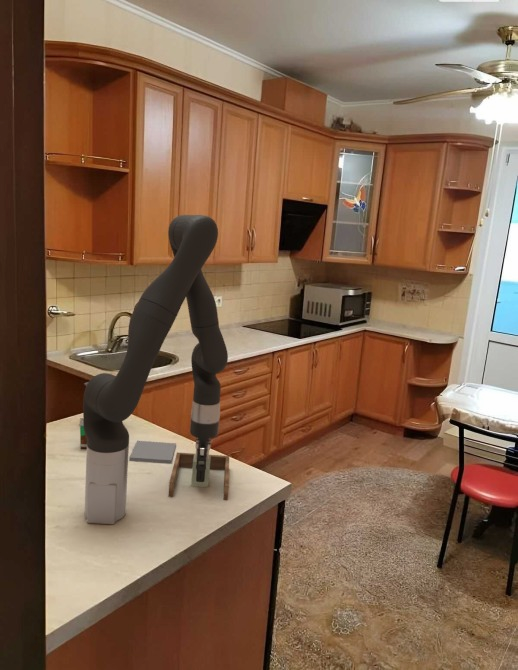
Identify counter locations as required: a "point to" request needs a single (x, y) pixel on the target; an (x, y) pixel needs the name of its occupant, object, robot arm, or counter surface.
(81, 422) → the food container
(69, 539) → the counter surface
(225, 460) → the wooden u-shaped frame
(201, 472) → the robot arm
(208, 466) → the sage block
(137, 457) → the slate mat
